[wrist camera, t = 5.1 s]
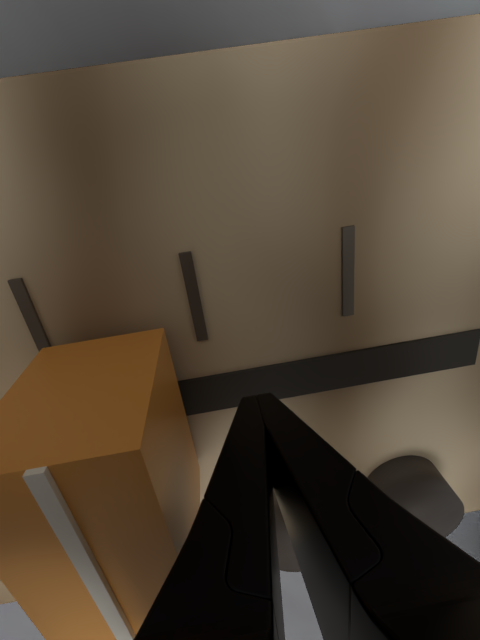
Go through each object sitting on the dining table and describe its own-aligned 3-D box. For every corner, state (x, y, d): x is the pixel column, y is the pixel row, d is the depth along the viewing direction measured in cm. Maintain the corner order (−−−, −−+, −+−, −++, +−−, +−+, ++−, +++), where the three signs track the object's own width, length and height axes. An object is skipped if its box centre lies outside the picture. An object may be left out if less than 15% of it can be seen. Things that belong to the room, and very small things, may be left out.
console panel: (546, 25, 9) (736, -45, 6) (457, 468, 16) (522, 545, 13) (-460, 163, 8) (-892, 169, 5) (-83, 571, 15) (-158, 682, 12)
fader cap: (163, 327, 9) (138, 455, 5) (200, 469, 11) (201, 630, 7) (42, 348, 9) (-76, 494, 5) (103, 486, 11) (54, 661, 7)
